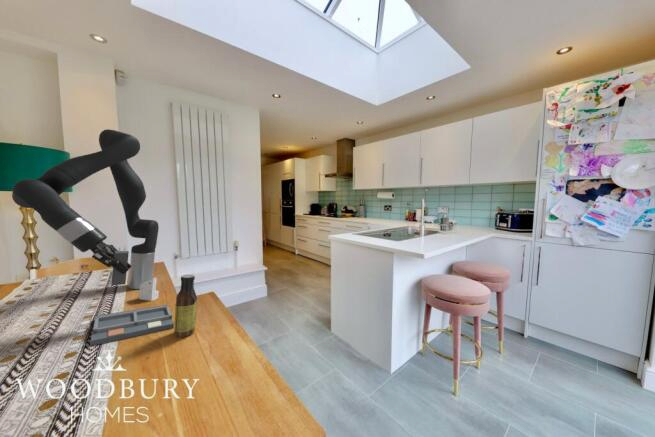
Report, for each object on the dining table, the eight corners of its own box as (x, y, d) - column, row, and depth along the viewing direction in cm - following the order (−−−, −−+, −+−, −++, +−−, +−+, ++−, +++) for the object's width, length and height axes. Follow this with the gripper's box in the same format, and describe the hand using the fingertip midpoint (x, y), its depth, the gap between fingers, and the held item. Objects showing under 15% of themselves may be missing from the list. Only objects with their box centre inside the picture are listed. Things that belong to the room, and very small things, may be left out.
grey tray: (95, 320, 81) (95, 312, 81) (165, 308, 95) (166, 301, 95) (90, 346, 68) (90, 336, 68) (173, 328, 82) (174, 320, 82)
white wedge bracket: (161, 296, 100) (153, 278, 100) (141, 305, 101) (134, 286, 101) (167, 293, 103) (160, 276, 104) (149, 302, 104) (141, 284, 104)
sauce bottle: (198, 331, 81) (203, 276, 80) (181, 340, 75) (186, 280, 75) (186, 326, 84) (191, 272, 83) (168, 333, 78) (173, 275, 77)
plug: (111, 282, 81) (115, 246, 81) (125, 281, 83) (129, 246, 83) (111, 285, 78) (115, 248, 78) (125, 284, 80) (129, 248, 80)
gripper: (86, 229, 71) (134, 267, 77) (101, 225, 83) (141, 258, 89) (60, 246, 68) (111, 284, 74) (79, 239, 80) (121, 272, 86)
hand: (127, 270), depth 82 cm, fingers closed on plug, 4 cm apart
